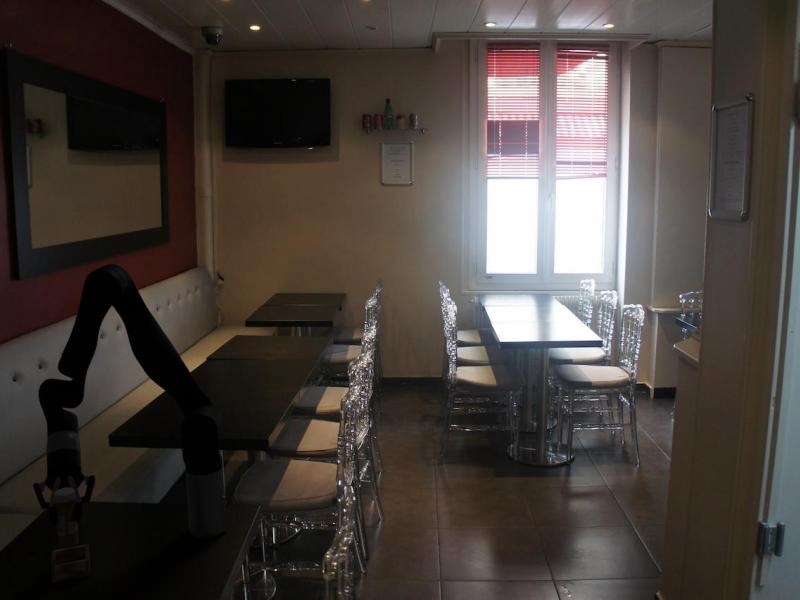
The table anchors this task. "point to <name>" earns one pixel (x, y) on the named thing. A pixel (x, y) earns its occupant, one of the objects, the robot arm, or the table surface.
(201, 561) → the table surface
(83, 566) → the oak socket block
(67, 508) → the sprinkles bottle
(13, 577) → the table surface
